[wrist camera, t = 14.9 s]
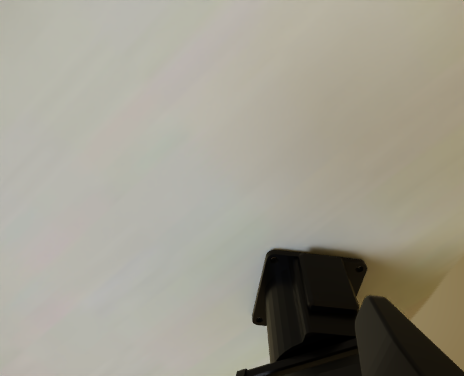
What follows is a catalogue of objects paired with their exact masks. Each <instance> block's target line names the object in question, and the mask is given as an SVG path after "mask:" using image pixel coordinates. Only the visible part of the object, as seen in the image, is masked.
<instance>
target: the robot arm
mask: <svg viewBox="0 0 464 376" xmlns="http://www.w3.org/2000/svg"><path fill="white" fill-rule="evenodd" d="M273 257H276V259H271V258H273ZM359 266H361V267H360V268H357V267H359ZM366 271H367V266H366V264H365V262H364V261H363V260H361V259H353V258H343V257H334V256H325V255H316V254H307V253H298V252H289V251H279V250H271V251H269V252H268V253H267V254H266V258H265V262H264V266H263V271H262V275H261V279H260V283H259V288H258V292H257V296H256V301H255V305H254V309H253V314H252V321H253V323H254V324H256V325H263V326H267V332H268V343H269V354H270V364H266V365H263V366H259V367H256V368H253V369H249V370H247V369H243V370H240V371H237V374H236V376H464V372H463V371H462V370H461V369H460V368H459V367H458V366H457V365H456V364H455V363H454V362H453V361H452V360H451V359H450V358H449V357H448V356H446V355H445V354H444V353H443V352H442V351H441V350H440V349H439V348H438V347H437V346H436V345H435V344H434V343H433V342H432V341H431V340H430V339H428V338H427V337H426V336H425V335H424V334H423V333H422V332H421V331H420V330H419V329H418V328H417V327H416V326H415V325H414V324H413V323H412V322H411V321H410V320H409V319H407V318H406V317H405V316H404V315H403V314H402V313H401V312H400V311H399V310H398V309H397V308H396V307H395V306H394V305H393V304H392V303H391V302H390V301H388V300H387V299H386V298H385V297H381V296H372V295H369V296H366V297H365V299H364V301H363V303H362V305H361V308H360V310H359V304H358V301H357V298H356V296H357V293H358V291H359V288H360V286H361V283H362V281H363V278H364V276H365V274H366Z"/></svg>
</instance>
